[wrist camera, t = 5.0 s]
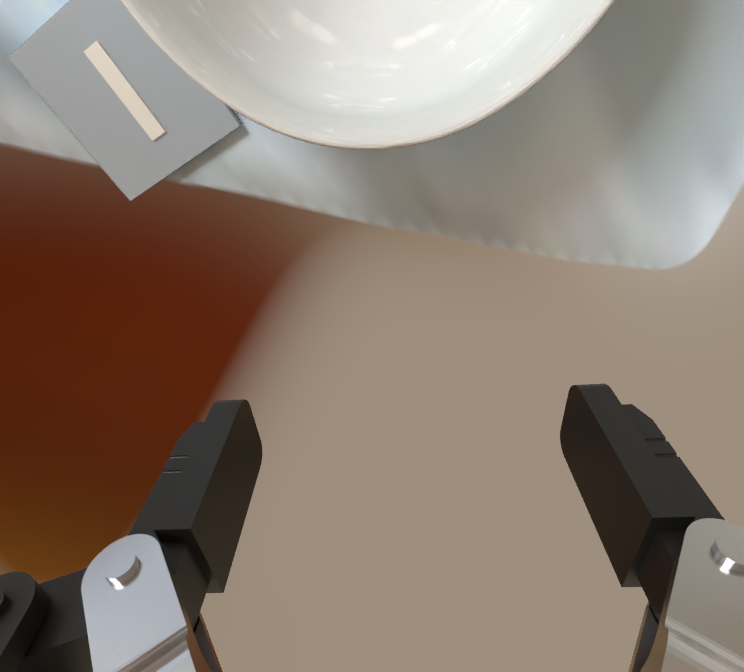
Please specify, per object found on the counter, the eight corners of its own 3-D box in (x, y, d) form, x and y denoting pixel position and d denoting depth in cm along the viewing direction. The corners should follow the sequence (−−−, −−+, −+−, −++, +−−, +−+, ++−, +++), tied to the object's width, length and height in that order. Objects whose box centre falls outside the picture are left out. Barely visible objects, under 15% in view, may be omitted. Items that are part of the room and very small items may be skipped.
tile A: (134, 198, 22) (129, 201, 22) (13, 57, 19) (5, 58, 19) (241, 124, 20) (238, 126, 20) (127, -47, 17) (121, -49, 17)
